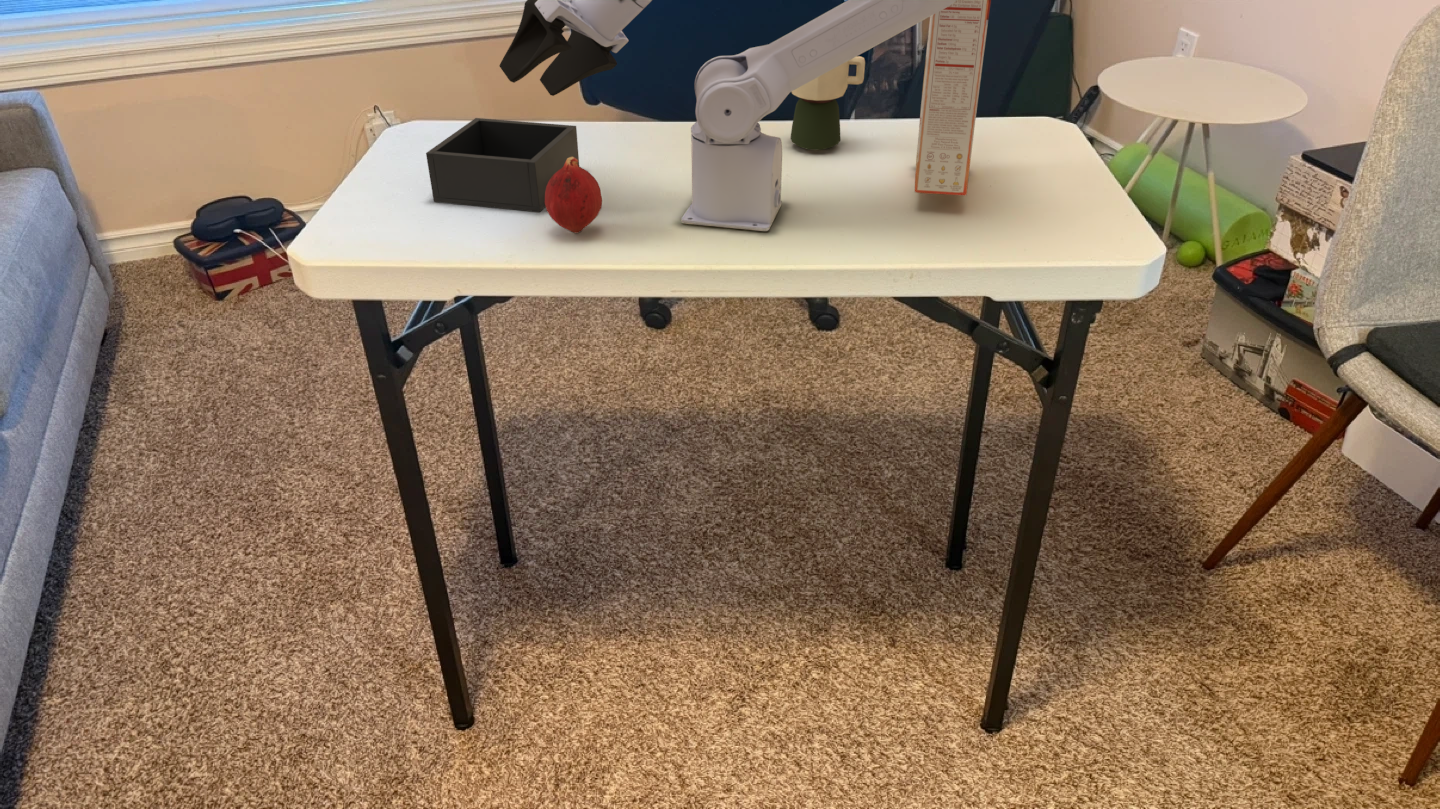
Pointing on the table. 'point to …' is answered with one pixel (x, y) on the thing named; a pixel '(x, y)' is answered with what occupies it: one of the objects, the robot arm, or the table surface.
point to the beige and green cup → (823, 107)
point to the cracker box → (950, 97)
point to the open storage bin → (500, 163)
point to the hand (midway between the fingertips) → (527, 81)
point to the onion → (573, 197)
